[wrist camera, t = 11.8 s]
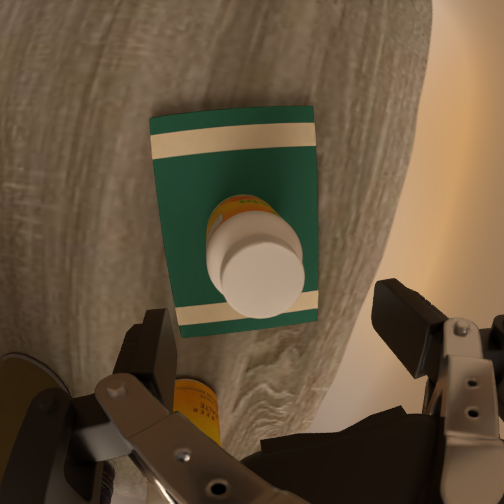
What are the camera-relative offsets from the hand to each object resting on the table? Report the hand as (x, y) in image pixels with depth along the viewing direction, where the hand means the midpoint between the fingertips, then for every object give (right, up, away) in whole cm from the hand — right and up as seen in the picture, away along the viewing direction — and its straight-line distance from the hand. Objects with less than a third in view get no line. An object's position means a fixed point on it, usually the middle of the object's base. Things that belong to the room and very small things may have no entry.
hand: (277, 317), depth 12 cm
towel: (-2, +4, +13) cm, 14 cm away
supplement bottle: (-2, +4, +12) cm, 13 cm away
